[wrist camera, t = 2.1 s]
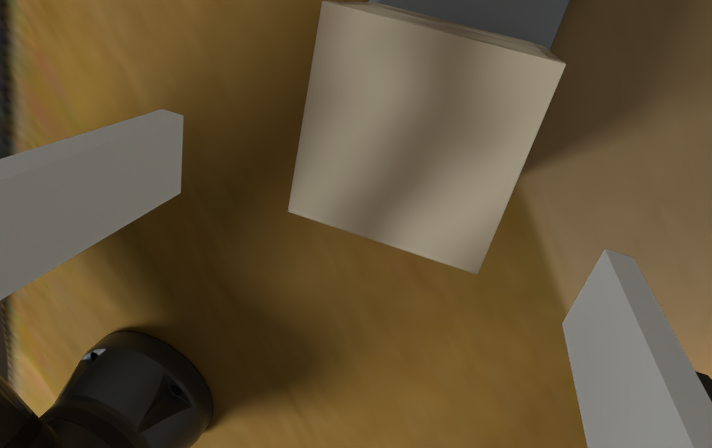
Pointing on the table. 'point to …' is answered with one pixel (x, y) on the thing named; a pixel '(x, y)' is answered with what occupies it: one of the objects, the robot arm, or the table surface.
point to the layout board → (496, 15)
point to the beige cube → (417, 128)
